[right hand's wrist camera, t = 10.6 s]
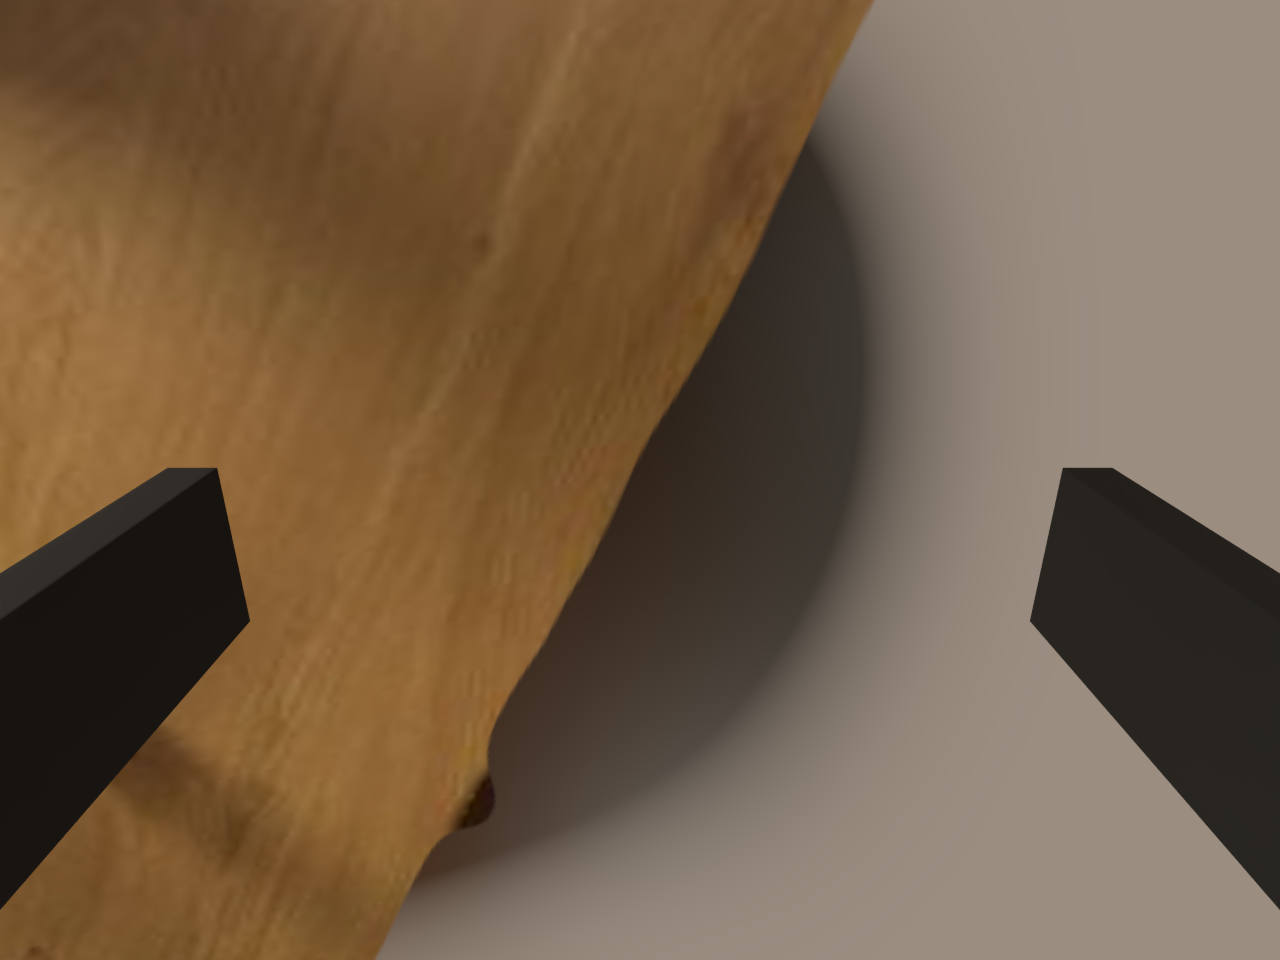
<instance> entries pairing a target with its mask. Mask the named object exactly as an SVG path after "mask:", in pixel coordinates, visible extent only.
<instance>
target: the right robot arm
mask: <svg viewBox="0 0 1280 960" xmlns="http://www.w3.org/2000/svg"><path fill="white" fill-rule="evenodd" d="M249 622H250V619H249V614H248V609H247V605H246V600H245V595H244V591H243V586H242V581H241V577H240V572H239V568H238V563H237V558H236V554H235V549H234V544H233V540H232V535H231V530H230V526H229V521H228V516H227V512H226V507H225V502H224V498H223V493H222V489H221V484H220V479H219V475H218V470H217V468H167V469H165V470H164V471H162V472H160V473H159V474H157V475H156V476H154V477H152V478H151V479H149V480H148V481H146V482H145V483H143V484H141V485H140V486H138V487H137V488H135V489H133V490H132V491H130V492H129V493H127V494H125V495H124V496H122V497H121V498H119V499H118V500H116V501H114V502H113V503H111V504H110V505H108V506H106V507H105V508H103V509H102V510H100V511H98V512H97V513H95V514H94V515H92V516H91V517H89V518H87V519H86V520H84V521H83V522H81V523H79V524H78V525H76V526H75V527H73V528H71V529H70V530H68V531H67V532H65V533H64V534H62V535H60V536H59V537H57V538H56V539H54V540H52V541H51V542H49V543H48V544H46V545H45V546H43V547H41V548H40V549H38V550H37V551H35V552H33V553H32V554H30V555H29V556H27V557H25V558H24V559H22V560H21V561H19V562H18V563H16V564H14V565H13V566H11V567H10V568H8V569H6V570H5V571H3V572H2V573H0V909H1V908H2V907H3V906H4V905H5V904H6V902H7V901H8V900H9V899H10V898H11V897H12V896H13V894H14V893H15V892H16V891H17V890H18V889H19V887H20V886H21V885H22V884H23V883H24V882H25V881H26V879H27V878H28V877H29V876H30V875H31V874H32V872H33V871H34V870H35V869H36V868H37V867H38V865H39V864H40V863H41V862H42V861H43V860H44V859H45V857H46V856H47V855H48V854H49V853H50V852H51V850H52V849H53V848H54V847H55V846H56V845H57V844H58V842H59V841H60V840H61V839H62V838H63V837H64V835H65V834H66V833H67V832H68V831H69V830H70V829H71V827H72V826H73V825H74V824H75V823H76V822H77V820H78V819H79V818H80V817H81V816H82V815H83V813H84V812H85V811H86V810H87V809H88V808H89V807H90V805H91V804H92V803H93V802H94V801H95V800H96V798H97V797H98V796H99V795H100V794H101V793H102V792H103V790H104V789H105V788H106V787H107V786H108V785H109V783H110V782H111V781H112V780H113V779H114V778H115V777H116V775H117V774H118V773H119V772H120V771H121V770H122V768H123V767H124V766H125V765H126V764H127V763H128V761H129V760H130V759H131V758H132V757H133V756H134V755H135V753H136V752H137V751H138V750H139V749H140V748H141V746H142V745H143V744H144V743H145V742H146V741H147V740H148V738H149V737H150V736H151V735H152V734H153V733H154V731H155V730H156V729H157V728H158V727H159V726H160V725H161V723H162V722H163V721H164V720H165V719H166V718H167V716H168V715H169V714H170V713H171V712H172V711H173V709H174V708H175V707H176V706H177V705H178V704H179V703H180V701H181V700H182V699H183V698H184V697H185V696H186V694H187V693H188V692H189V691H190V690H191V689H192V688H193V686H194V685H195V684H196V683H197V682H198V681H199V679H200V678H201V677H202V676H203V675H204V674H205V673H206V671H207V670H208V669H209V668H210V667H211V666H212V664H213V663H214V662H215V661H216V660H217V659H218V657H219V656H220V655H221V654H222V653H223V652H224V651H225V649H226V648H227V647H228V646H229V645H230V644H231V642H232V641H233V640H234V639H235V638H236V637H237V636H238V634H239V633H240V632H241V631H242V630H243V629H244V627H245V626H246V625H247V624H248V623H249ZM1030 622H1031V623H1032V624H1033V625H1034V626H1035V627H1036V629H1037V630H1038V631H1039V632H1040V633H1041V634H1042V636H1043V637H1044V638H1045V639H1046V640H1047V641H1048V642H1049V644H1050V645H1051V646H1052V647H1053V648H1054V649H1055V651H1056V652H1057V653H1058V654H1059V655H1060V656H1061V657H1062V659H1063V660H1064V661H1065V662H1066V663H1067V664H1068V666H1069V667H1070V668H1071V669H1072V670H1073V671H1074V673H1075V674H1076V675H1077V676H1078V677H1079V678H1080V679H1081V681H1082V682H1083V683H1084V684H1085V685H1086V686H1087V688H1088V689H1089V690H1090V691H1091V692H1092V693H1093V694H1094V696H1095V697H1096V698H1097V699H1098V700H1099V701H1100V703H1101V704H1102V705H1103V706H1104V707H1105V708H1106V709H1107V711H1108V712H1109V713H1110V714H1111V715H1112V716H1113V718H1114V719H1115V720H1116V721H1117V722H1118V723H1119V724H1120V726H1121V727H1122V728H1123V729H1124V730H1125V731H1126V733H1127V734H1128V735H1129V736H1130V737H1131V738H1132V739H1133V741H1134V742H1135V743H1136V744H1137V745H1138V746H1139V748H1140V749H1141V750H1142V751H1143V752H1144V753H1145V755H1146V756H1147V757H1148V758H1149V759H1150V760H1151V761H1152V763H1153V764H1154V765H1155V766H1156V767H1157V768H1158V770H1159V771H1160V772H1161V773H1162V774H1163V775H1164V776H1165V778H1166V779H1167V780H1168V781H1169V782H1170V783H1171V785H1172V786H1173V787H1174V788H1175V789H1176V790H1177V791H1178V793H1179V794H1180V795H1181V796H1182V797H1183V798H1184V800H1185V801H1186V802H1187V803H1188V804H1189V805H1190V807H1191V808H1192V809H1193V810H1194V811H1195V812H1196V813H1197V815H1198V816H1199V817H1200V818H1201V819H1202V820H1203V822H1204V823H1205V824H1206V825H1207V826H1208V827H1209V829H1210V830H1211V831H1212V832H1213V833H1214V834H1215V835H1216V837H1217V838H1218V839H1219V840H1220V841H1221V842H1222V843H1223V845H1224V846H1225V847H1226V848H1227V849H1228V850H1229V852H1230V853H1231V854H1232V855H1233V856H1234V857H1235V859H1236V860H1237V861H1238V862H1239V863H1240V864H1241V865H1242V867H1243V868H1244V869H1245V870H1246V871H1247V872H1248V874H1249V875H1250V876H1251V877H1252V878H1253V879H1254V881H1255V882H1256V883H1257V884H1258V885H1259V886H1260V887H1261V889H1262V890H1263V891H1264V892H1265V893H1266V894H1267V896H1268V897H1269V898H1270V899H1271V900H1272V901H1273V902H1274V904H1275V905H1276V906H1277V907H1278V908H1279V909H1280V573H1278V572H1277V571H1275V570H1274V569H1272V568H1270V567H1269V566H1267V565H1266V564H1264V563H1262V562H1261V561H1259V560H1258V559H1256V558H1255V557H1253V556H1251V555H1250V554H1248V553H1247V552H1245V551H1243V550H1242V549H1240V548H1239V547H1237V546H1235V545H1234V544H1232V543H1231V542H1229V541H1227V540H1226V539H1224V538H1223V537H1221V536H1220V535H1218V534H1216V533H1215V532H1213V531H1212V530H1210V529H1208V528H1207V527H1205V526H1204V525H1202V524H1201V523H1199V522H1197V521H1196V520H1194V519H1193V518H1191V517H1189V516H1188V515H1186V514H1185V513H1183V512H1182V511H1180V510H1178V509H1177V508H1175V507H1174V506H1172V505H1170V504H1169V503H1167V502H1166V501H1164V500H1162V499H1161V498H1159V497H1158V496H1156V495H1155V494H1153V493H1151V492H1150V491H1148V490H1147V489H1145V488H1143V487H1142V486H1140V485H1139V484H1137V483H1135V482H1134V481H1132V480H1131V479H1129V478H1127V477H1126V476H1124V475H1123V474H1121V473H1120V472H1118V471H1116V470H1115V469H1113V468H1063V470H1062V475H1061V479H1060V484H1059V489H1058V493H1057V498H1056V502H1055V507H1054V512H1053V516H1052V521H1051V526H1050V530H1049V535H1048V540H1047V545H1046V549H1045V554H1044V558H1043V563H1042V568H1041V572H1040V577H1039V581H1038V586H1037V591H1036V596H1035V600H1034V605H1033V610H1032V614H1031V619H1030Z"/></svg>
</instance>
